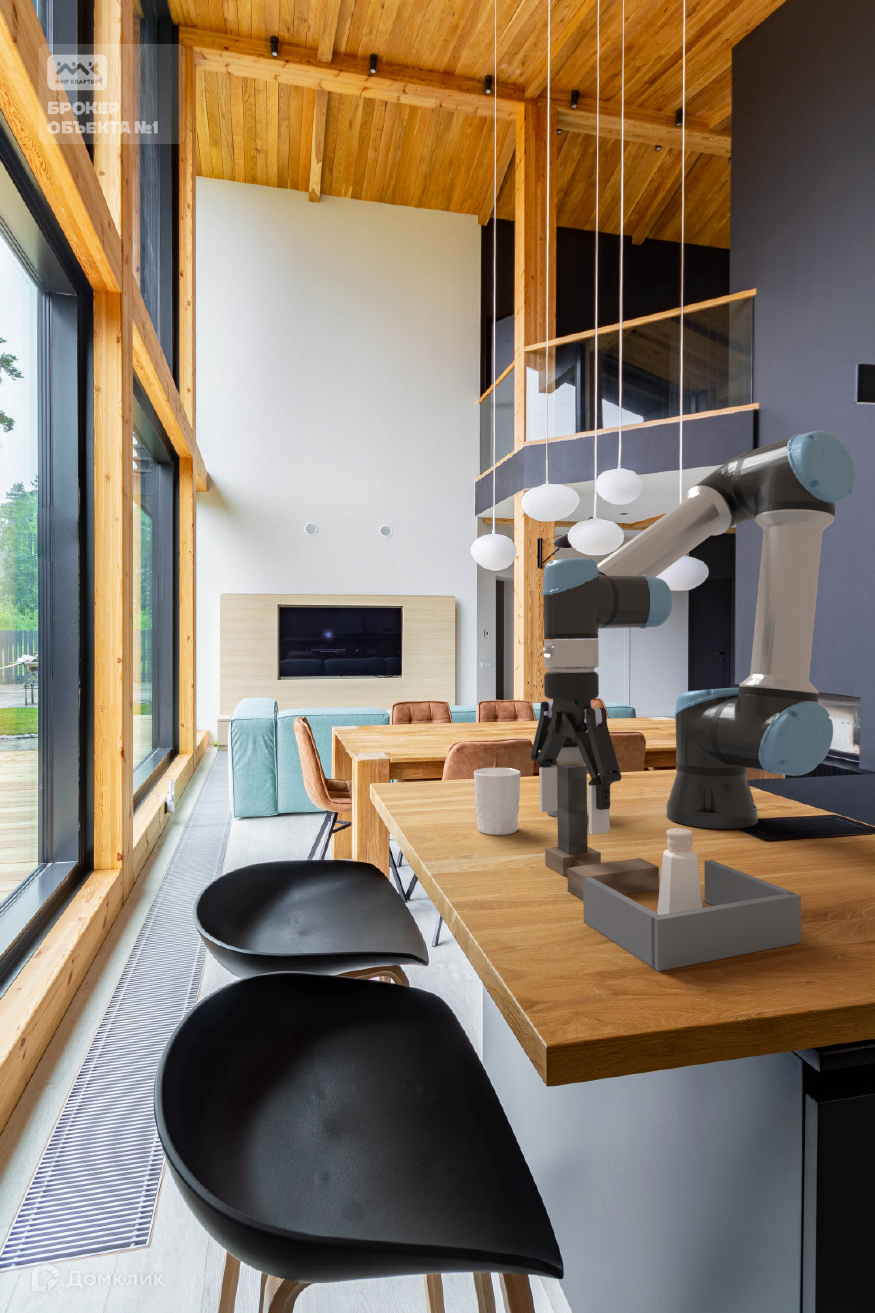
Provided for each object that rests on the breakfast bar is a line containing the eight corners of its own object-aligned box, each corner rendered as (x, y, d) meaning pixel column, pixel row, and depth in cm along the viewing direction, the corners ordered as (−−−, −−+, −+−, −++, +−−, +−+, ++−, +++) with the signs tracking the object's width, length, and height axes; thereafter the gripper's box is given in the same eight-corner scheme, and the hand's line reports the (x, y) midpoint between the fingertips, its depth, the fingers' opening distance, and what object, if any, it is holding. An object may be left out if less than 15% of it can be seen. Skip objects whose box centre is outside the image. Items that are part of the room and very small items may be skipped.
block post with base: (596, 858, 107) (595, 760, 106) (659, 889, 93) (658, 777, 93) (529, 867, 103) (528, 765, 103) (584, 901, 89) (583, 784, 89)
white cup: (471, 825, 127) (470, 768, 127) (516, 823, 128) (515, 767, 128) (477, 837, 119) (477, 776, 119) (525, 835, 120) (524, 775, 120)
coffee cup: (588, 820, 129) (587, 736, 129) (535, 818, 131) (534, 735, 131) (588, 808, 139) (587, 730, 138) (538, 807, 140) (537, 729, 140)
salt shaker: (691, 944, 77) (691, 839, 76) (645, 929, 80) (644, 830, 80) (715, 929, 80) (714, 830, 80) (670, 916, 84) (669, 821, 84)
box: (711, 900, 89) (711, 859, 89) (800, 942, 76) (800, 895, 76) (583, 921, 83) (583, 878, 83) (658, 971, 70) (657, 920, 70)
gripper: (508, 668, 112) (509, 805, 113) (597, 674, 89) (598, 847, 89) (551, 667, 115) (552, 801, 115) (648, 672, 91) (649, 840, 92)
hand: (572, 821), depth 102 cm, fingers open, 13 cm apart
